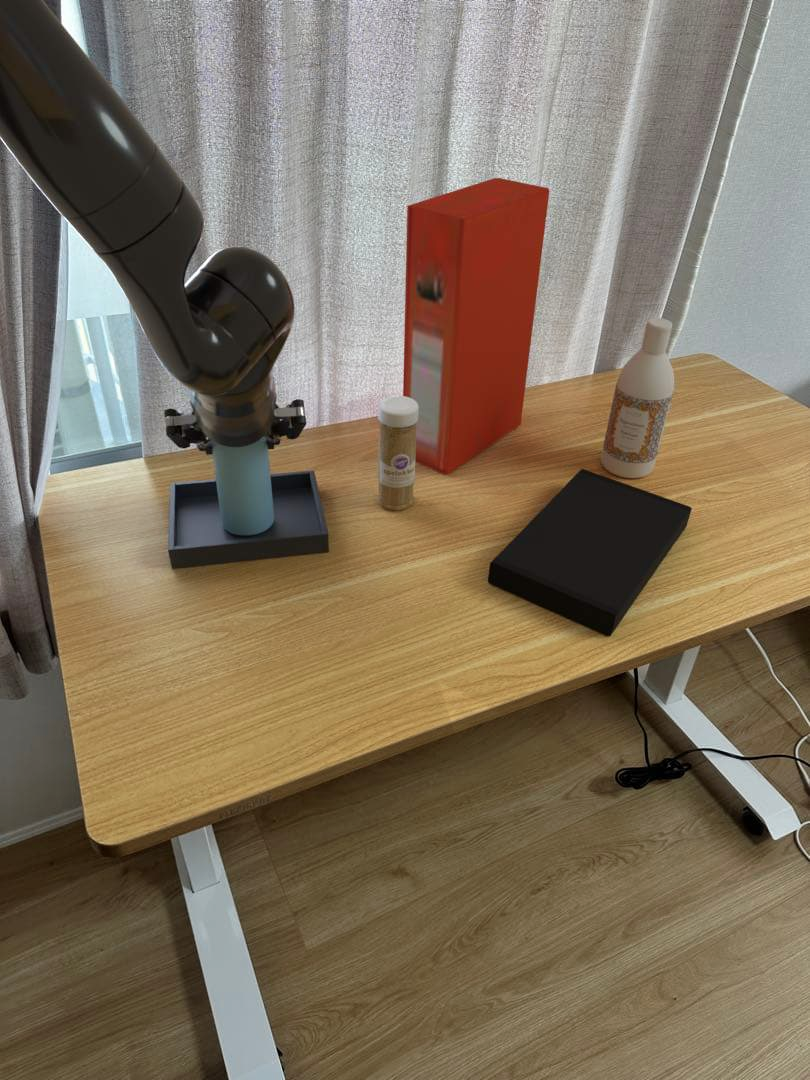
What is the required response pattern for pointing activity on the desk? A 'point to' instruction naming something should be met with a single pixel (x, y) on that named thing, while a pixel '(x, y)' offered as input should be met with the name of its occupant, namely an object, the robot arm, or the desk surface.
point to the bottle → (244, 487)
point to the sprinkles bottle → (397, 451)
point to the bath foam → (640, 406)
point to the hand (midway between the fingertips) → (239, 443)
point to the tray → (209, 543)
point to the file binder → (470, 315)
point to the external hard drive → (590, 550)
